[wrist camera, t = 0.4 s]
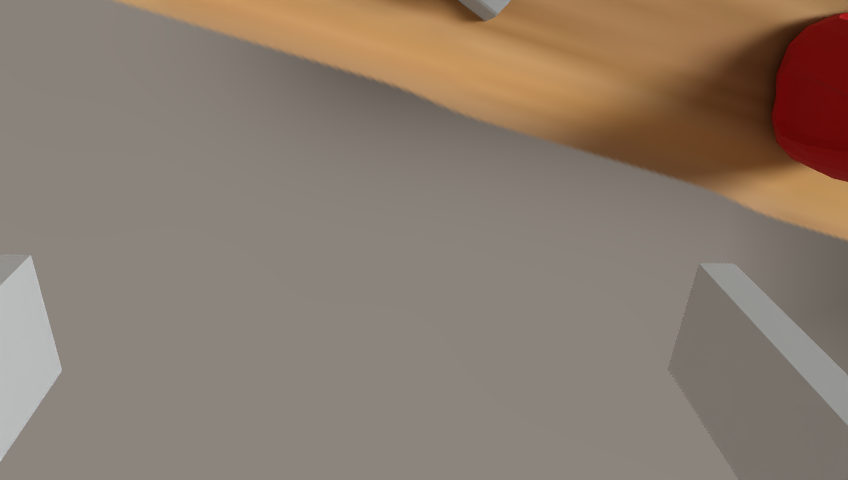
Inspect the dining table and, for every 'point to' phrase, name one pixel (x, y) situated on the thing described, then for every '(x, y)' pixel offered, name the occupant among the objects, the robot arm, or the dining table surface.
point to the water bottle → (815, 98)
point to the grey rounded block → (485, 7)
